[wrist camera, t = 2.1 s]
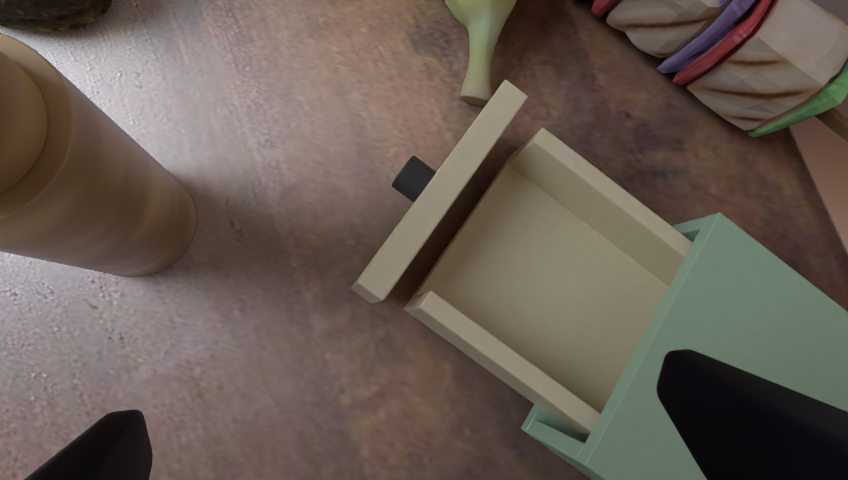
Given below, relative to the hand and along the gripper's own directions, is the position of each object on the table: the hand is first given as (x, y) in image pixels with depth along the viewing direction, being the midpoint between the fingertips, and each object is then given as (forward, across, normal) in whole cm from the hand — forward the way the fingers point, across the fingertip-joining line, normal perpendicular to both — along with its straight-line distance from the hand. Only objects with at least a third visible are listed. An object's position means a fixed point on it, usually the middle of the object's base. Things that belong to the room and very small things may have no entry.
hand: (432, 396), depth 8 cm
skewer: (+16, -16, -6) cm, 23 cm away
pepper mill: (+15, +10, +2) cm, 18 cm away
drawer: (+12, -8, +5) cm, 15 cm away
